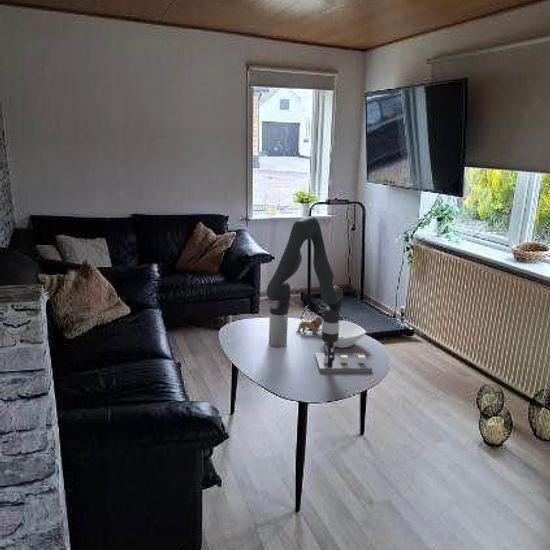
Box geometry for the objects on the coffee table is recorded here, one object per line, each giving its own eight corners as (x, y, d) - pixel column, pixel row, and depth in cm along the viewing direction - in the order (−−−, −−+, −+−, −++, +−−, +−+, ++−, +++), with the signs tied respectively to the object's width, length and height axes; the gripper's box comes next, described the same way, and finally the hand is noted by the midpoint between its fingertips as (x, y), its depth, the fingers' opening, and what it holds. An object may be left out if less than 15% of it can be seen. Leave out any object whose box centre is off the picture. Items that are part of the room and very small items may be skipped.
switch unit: (314, 356, 240) (315, 352, 239) (363, 356, 242) (363, 352, 241) (319, 372, 225) (320, 368, 224) (371, 372, 226) (372, 367, 226)
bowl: (343, 333, 269) (344, 318, 267) (370, 347, 253) (371, 332, 250) (313, 340, 258) (314, 325, 256) (338, 356, 242) (339, 340, 239)
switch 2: (340, 361, 231) (340, 355, 230) (346, 360, 231) (347, 355, 231) (341, 363, 229) (341, 357, 228) (347, 363, 229) (348, 357, 228)
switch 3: (357, 360, 232) (357, 355, 231) (363, 360, 232) (363, 355, 231) (358, 363, 229) (358, 357, 229) (364, 363, 230) (365, 357, 229)
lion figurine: (320, 330, 273) (321, 314, 270) (323, 333, 268) (324, 318, 265) (294, 332, 269) (295, 316, 267) (297, 335, 264) (298, 320, 262)
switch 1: (323, 361, 230) (323, 355, 229) (329, 361, 231) (330, 355, 230) (324, 363, 228) (324, 357, 227) (330, 363, 228) (331, 357, 227)
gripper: (319, 323, 228) (317, 356, 233) (324, 336, 215) (322, 370, 219) (335, 324, 229) (333, 356, 233) (341, 336, 215) (339, 370, 220)
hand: (328, 362), depth 226 cm, fingers open, 8 cm apart
